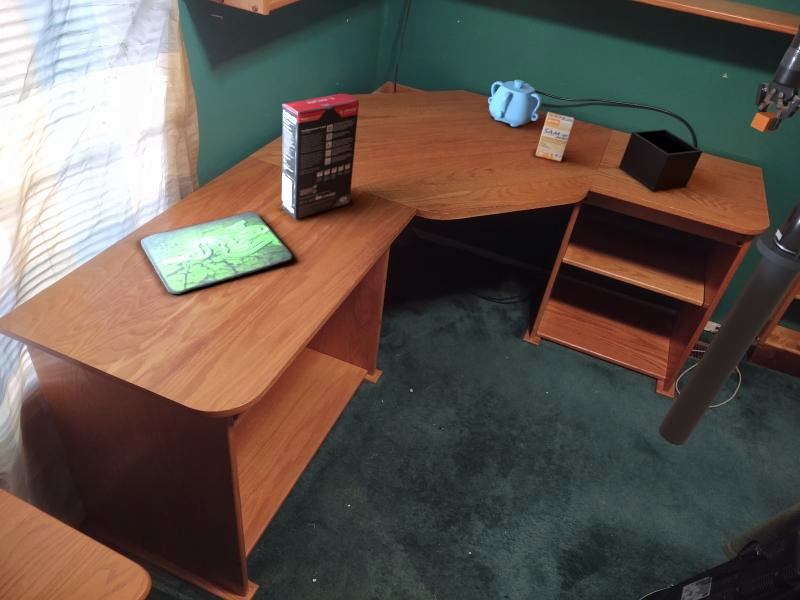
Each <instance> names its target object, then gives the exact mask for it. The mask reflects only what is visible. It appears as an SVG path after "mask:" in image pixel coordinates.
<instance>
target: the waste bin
mask: <svg viewBox="0 0 800 600" xmlns="http://www.w3.org/2000/svg"><path fill="white" fill-rule="evenodd" d="M702 153H703V150H701V149H699V148H698V147H697V146H695V145H693V144H691V143H689V142H688V141H686V140H684V139H683V138H681V137H679V136H678V135H676V134H675V133H673V132H671V131H669V130H668V129H665V128H662V129H649V130H639V131H632V132H631V134H630V136H629V139H628V142H627V145H626V147H625V150H624V152H623V155H622V158H621V160H620V163H619V166H618V168H619V169H620V170H622V171H623V172H625V173H626V174H627V175H629V176H630V177H632V178H633V179H634V180H636V181H637V182H639V183H640V184H641V185H642V186H644V187H645V188H647V189H648V190H650V191H651V192H653V193H654V192H659V191H668V190H673V189H680V188H686V187H687V186H688V183H689V182H690V179H691V178H692V175H693V173H694V171H695V169H696V167H697V165H698V162H699V160H700V158H701V155H702Z"/></svg>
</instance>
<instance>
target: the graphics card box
mask: <svg viewBox="0 0 800 600" xmlns="http://www.w3.org/2000/svg"><path fill="white" fill-rule="evenodd" d="M359 105H360V102H359V99H358V98H356V97H354V96H352V95H351V94H348V93H345V92H342V93H337V94H331V95H326V96H319V97H314V98H307V99H303V100H298V101H291V102H286V103H282V137H281V139H282V140H281V141H282V147H281V150H282V153H281V156H282V157H281V161H282V162H281V209H282V210H284V212H286V214H288V215H290V217H291V218H293V219H294V220H298V219H302V218H304V217H308V216H312V215H315V214H318V213H321V212H324V211H325V212H326V211H328V210H332V209H335V208H338V207H342V206H344V205H348V204H350V201H351V193H352V192H351V191H352V182H353V181H352V180H353V169H354V160H355V148H356V139H357V138H356V137H357V127H358V118H359V117H358V116H359Z"/></svg>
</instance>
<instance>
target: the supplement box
mask: <svg viewBox="0 0 800 600" xmlns="http://www.w3.org/2000/svg"><path fill="white" fill-rule="evenodd" d="M574 120H575V117H573V116H567V115H563V114H560V113H556V112H552V111H548V112H547V113H546V118H545V121H544V125H543V127H542V131H541V134H540V138H539V142H538V145H537V148H536V152H535V157H537V158H538V157H539V158H543V159H547V160H552V161H556V162H559V163H560V162H562V159H563V156H564V154H565V153H564V152H565V150H566V147H567V143H568V140H569V138H570V134H571V131H572V128H573V125H574Z"/></svg>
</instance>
